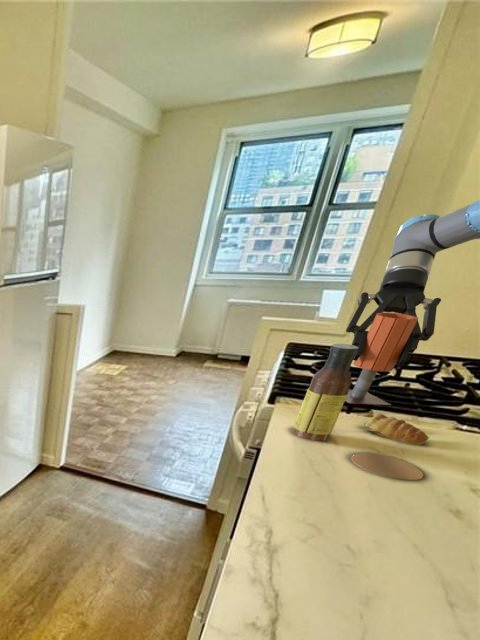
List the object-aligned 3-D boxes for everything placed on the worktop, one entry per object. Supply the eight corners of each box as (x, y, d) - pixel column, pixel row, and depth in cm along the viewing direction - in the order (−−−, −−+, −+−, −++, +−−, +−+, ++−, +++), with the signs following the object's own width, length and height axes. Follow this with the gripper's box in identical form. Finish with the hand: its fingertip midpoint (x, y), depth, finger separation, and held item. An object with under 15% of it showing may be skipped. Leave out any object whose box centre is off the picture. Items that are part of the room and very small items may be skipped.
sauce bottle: (333, 438, 103) (377, 347, 94) (319, 445, 100) (363, 353, 91) (297, 427, 108) (335, 339, 99) (283, 433, 105) (321, 344, 96)
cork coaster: (394, 457, 96) (395, 454, 96) (437, 484, 87) (438, 481, 87) (338, 454, 97) (339, 451, 97) (374, 480, 89) (376, 477, 88)
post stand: (361, 396, 123) (383, 352, 117) (388, 410, 115) (413, 364, 109) (322, 394, 124) (342, 351, 118) (346, 408, 116) (368, 363, 111)
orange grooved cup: (377, 362, 117) (402, 312, 112) (400, 372, 111) (427, 319, 106) (346, 361, 118) (368, 312, 113) (367, 371, 112) (392, 319, 107)
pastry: (430, 442, 101) (440, 426, 99) (414, 450, 98) (424, 433, 96) (374, 425, 108) (382, 409, 106) (358, 431, 106) (366, 416, 104)
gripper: (457, 291, 112) (431, 376, 109) (345, 283, 123) (318, 360, 120) (475, 269, 106) (448, 360, 103) (355, 263, 117) (327, 345, 114)
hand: (378, 360), depth 111 cm, fingers closed on orange grooved cup, 7 cm apart
